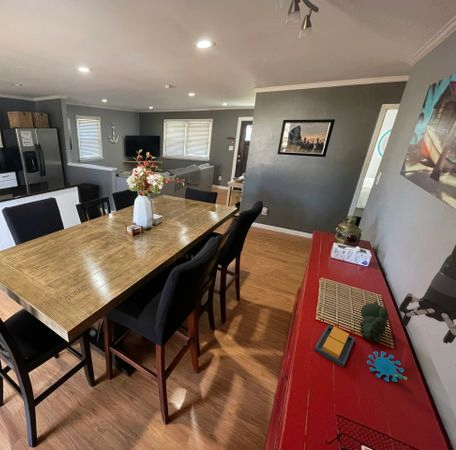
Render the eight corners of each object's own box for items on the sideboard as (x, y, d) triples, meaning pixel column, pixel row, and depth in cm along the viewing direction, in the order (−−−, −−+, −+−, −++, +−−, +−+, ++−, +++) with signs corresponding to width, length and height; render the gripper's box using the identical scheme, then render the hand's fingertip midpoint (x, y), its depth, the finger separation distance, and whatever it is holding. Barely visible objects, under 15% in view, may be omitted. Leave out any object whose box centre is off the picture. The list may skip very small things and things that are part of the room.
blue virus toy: (361, 365, 91) (376, 344, 92) (359, 365, 96) (373, 346, 96) (398, 391, 84) (414, 369, 84) (394, 391, 88) (409, 369, 89)
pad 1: (346, 339, 104) (349, 333, 103) (342, 349, 99) (345, 343, 98) (331, 331, 108) (334, 326, 107) (326, 340, 103) (329, 335, 102)
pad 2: (341, 350, 99) (344, 344, 97) (336, 361, 94) (339, 355, 93) (326, 341, 103) (328, 336, 101) (320, 351, 98) (323, 346, 97)
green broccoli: (381, 356, 99) (382, 318, 116) (401, 323, 91) (399, 288, 107) (353, 343, 105) (358, 309, 121) (369, 311, 96) (372, 280, 113)
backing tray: (353, 341, 103) (355, 338, 103) (342, 368, 92) (344, 364, 91) (326, 328, 110) (327, 324, 110) (313, 350, 99) (314, 347, 98)
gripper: (413, 283, 70) (391, 325, 76) (493, 309, 60) (460, 355, 66) (415, 273, 74) (394, 314, 80) (489, 296, 65) (459, 340, 71)
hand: (424, 332), depth 73 cm, fingers open, 8 cm apart
